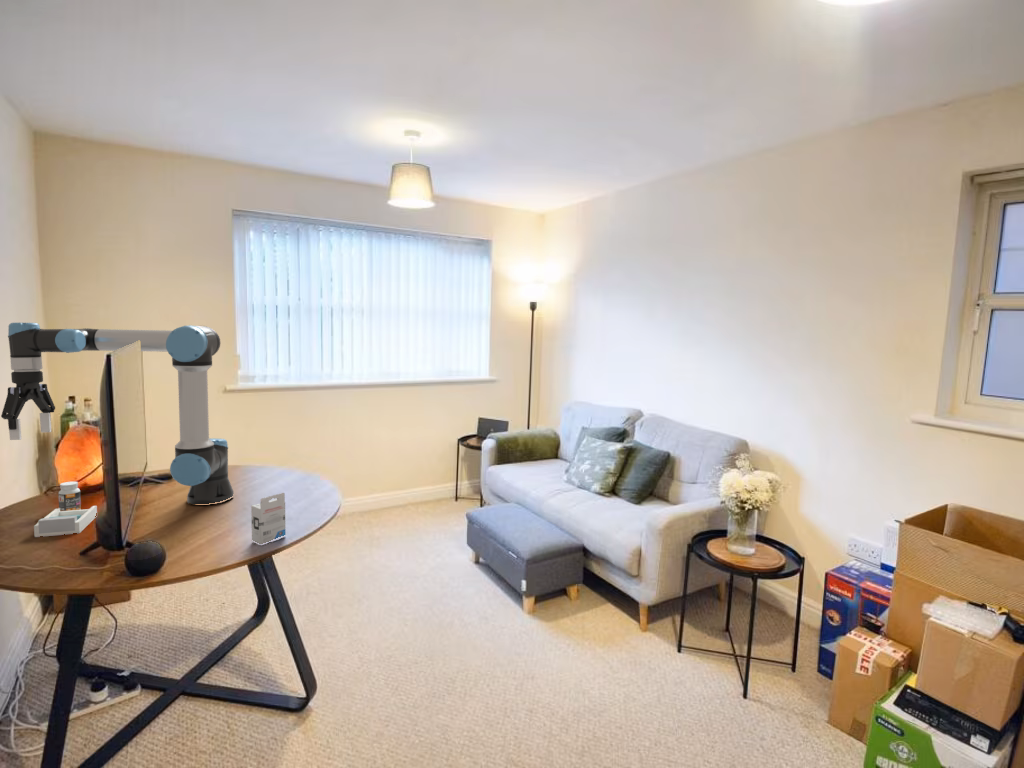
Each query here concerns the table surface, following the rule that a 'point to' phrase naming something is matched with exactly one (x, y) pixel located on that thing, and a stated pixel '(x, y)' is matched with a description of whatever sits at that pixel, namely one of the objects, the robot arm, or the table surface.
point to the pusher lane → (79, 522)
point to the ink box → (268, 519)
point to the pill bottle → (69, 496)
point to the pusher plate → (71, 515)
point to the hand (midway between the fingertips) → (31, 435)
